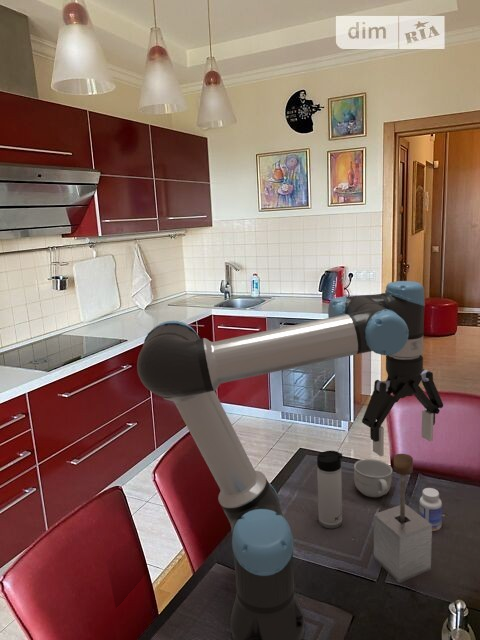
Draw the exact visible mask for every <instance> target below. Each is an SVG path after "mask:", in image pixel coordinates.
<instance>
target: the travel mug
mask: <svg viewBox="0 0 480 640" xmlns="http://www.w3.org/2000/svg"><path fill="white" fill-rule="evenodd" d="M341 459H343V453H341V452H339V451H337V450H324V451H322V452H320V453H319V454H318V455H317V457H316V464H317V465H316V472H317V473H316V475H317V476H316V477H317V480H316V482H317V506H318V507H317V508H318V509H317V510H318V511H317V512H318V523H319V524H320V525H321V526H322V527H323V528H326V529H336V528H339V527H340V526H341V525H342V524H343V493H342V491H343V490H342V488H343V487H342V482H343V481H342V460H341Z"/></svg>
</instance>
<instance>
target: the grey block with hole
mask: <svg viewBox="0 0 480 640" xmlns="http://www.w3.org/2000/svg"><path fill="white" fill-rule="evenodd" d="M397 520H400V504H399V505H396V506H393V507H391V508H388V507H385V508H382V509H379V510H378V512H376V513H373V559H374V560H376V561H377V563H378V564H379V565H380V566H381V567H382V568H383V569H384V570H385V571H386V572H388V574H389V575H390V576H391V577H392V578H394V580H395V581H396V582H397V583H398V584H400V583H404V582H406V581H408V580H411V579H413V578H415V577H417V576H420V575H422V574H425V573H427V572H429V571H431V569H432V567H431V566H432V544H433V543H432V541H433V539H432V535H433V531H432V524H431V523H429V522H428V521H427V520H426V519H424V518H423V517H422V516H420V515H419V513H418V512H417V511H415V510H414V509H413V508H412V507H410V506H409V505H407V504H406V503H405V520H406V521H407V522H406V523H403V524H401V523H400V522H399V521H397Z"/></svg>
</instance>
